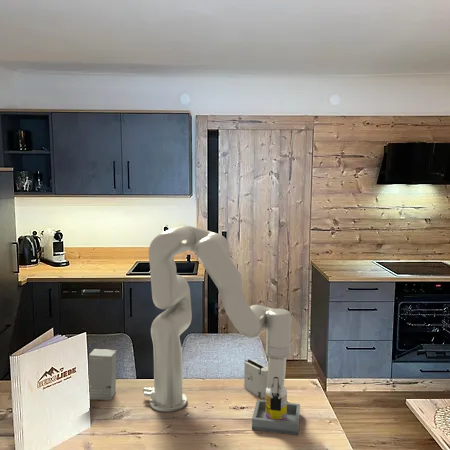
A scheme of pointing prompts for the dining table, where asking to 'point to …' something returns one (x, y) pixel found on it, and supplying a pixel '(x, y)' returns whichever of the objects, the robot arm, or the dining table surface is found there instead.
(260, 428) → the parts tray
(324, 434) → the dining table surface
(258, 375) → the hinge
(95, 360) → the skincare box
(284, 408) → the supplement bottle
